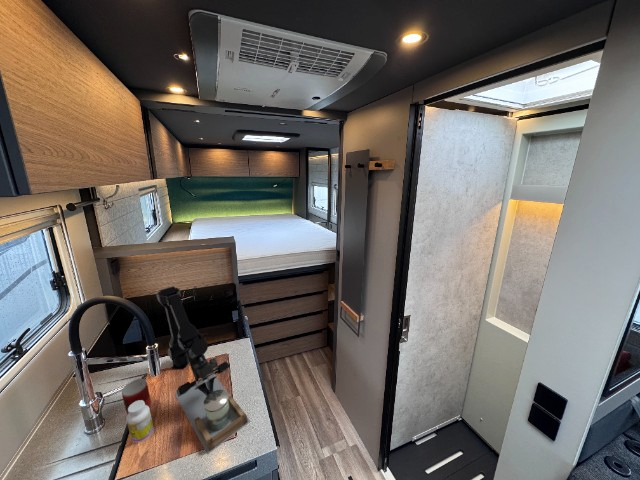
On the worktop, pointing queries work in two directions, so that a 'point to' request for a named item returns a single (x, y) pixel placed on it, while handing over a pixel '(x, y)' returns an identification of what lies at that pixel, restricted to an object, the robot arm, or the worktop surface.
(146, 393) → the canned food
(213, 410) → the tea tin
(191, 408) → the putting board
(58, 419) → the worktop surface
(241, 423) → the walnut pocket
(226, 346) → the worktop surface
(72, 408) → the worktop surface
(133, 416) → the supplement bottle
